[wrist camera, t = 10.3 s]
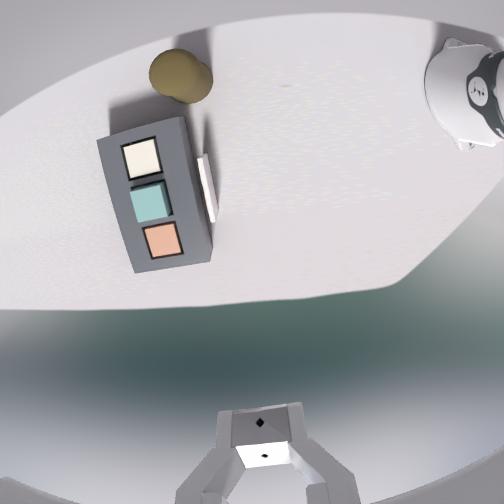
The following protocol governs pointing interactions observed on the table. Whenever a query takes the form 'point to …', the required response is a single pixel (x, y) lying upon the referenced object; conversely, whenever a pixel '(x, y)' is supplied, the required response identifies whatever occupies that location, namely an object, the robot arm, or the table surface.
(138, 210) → the teal key
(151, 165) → the cream key
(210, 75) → the cork
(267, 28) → the table surface
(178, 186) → the keypad
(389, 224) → the table surface
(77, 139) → the table surface
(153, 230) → the terracotta key
